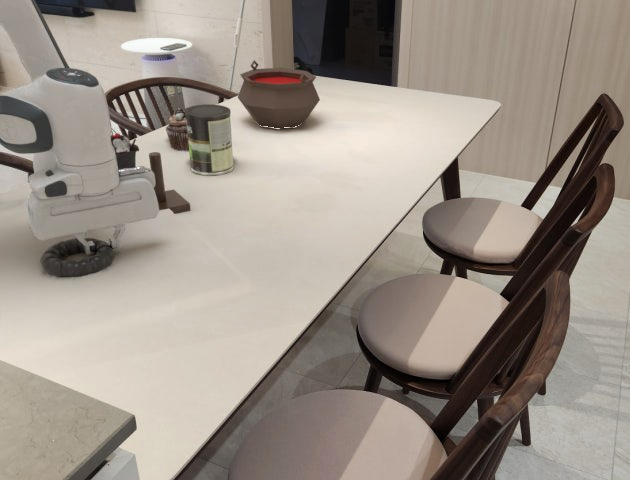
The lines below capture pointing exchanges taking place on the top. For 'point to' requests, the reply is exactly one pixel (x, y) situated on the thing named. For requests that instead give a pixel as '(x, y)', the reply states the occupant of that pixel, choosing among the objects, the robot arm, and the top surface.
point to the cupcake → (178, 130)
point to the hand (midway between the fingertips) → (103, 250)
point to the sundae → (124, 151)
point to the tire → (80, 267)
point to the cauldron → (278, 96)
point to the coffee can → (209, 139)
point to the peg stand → (164, 197)
